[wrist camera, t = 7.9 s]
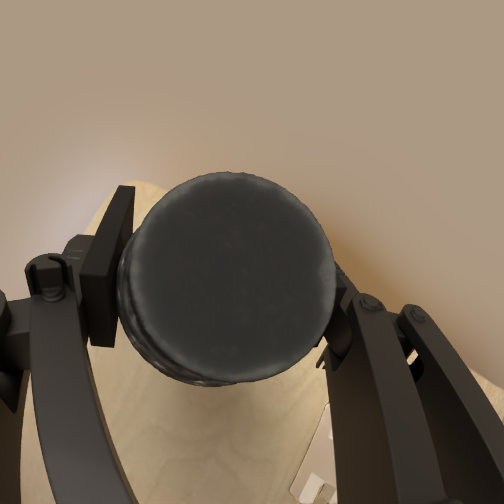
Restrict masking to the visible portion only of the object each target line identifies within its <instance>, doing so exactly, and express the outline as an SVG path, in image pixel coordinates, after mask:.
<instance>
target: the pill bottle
mask: <svg viewBox="0 0 504 504" xmlns="http://www.w3.org/2000/svg"><path fill="white" fill-rule="evenodd" d="M336 286H337V282H336V266H335V263H334V257H333V254H332V249H331V246H330V243H329V241H328V239H327V237H326V235H325V233H324V231H323V229H322V227H321V225H320V224H319V223H318V221H317V219H316V218H315V217H314V215H313V214H312V212H311V211H310V210H309V208H308V207H307V206H306V205H305V204H303V203H302V202H301V201H300V200H299V199H298V198H297V197H296V196H294V195H293V194H292V193H290V192H289V191H287V190H286V189H285V188H283V187H281V186H280V185H278V184H276V183H274V182H271V181H269V180H267V179H264V178H262V177H257V176H255V175H253V174H247V173H244V172H243V173H232V172H217V173H210V174H206V175H203V176H198V177H196V178H193V179H191V180H188V181H186V182H184V183H182V184H180V185H178V186H176V187H175V188H173V189H172V190H171V191H169V192H168V193H167V194H165V196H164V197H163V198H162V199H161V200H159V201H158V202H157V203H156V204H155V205H154V206H153V207H152V209H151V210H150V211H149V213H148V214H147V215H146V217H145V218H144V220H143V222H142V224H141V226H140V227H139V228H137V230H136V231H135V232H134V233H133V234H132V236H131V238H130V239H129V240H128V242H127V244H126V247H125V248H124V250H123V253H122V255H121V257H120V259H119V263H118V266H117V270H116V279H115V300H116V308H117V313H118V316H119V319H120V322H121V324H122V326H123V329H124V331H125V333H126V335H127V337H128V338H129V340H130V342H131V344H132V345H133V347H134V348H135V349H136V350H137V351H138V352H139V354H140V355H141V356H142V357H143V358H144V359H145V360H146V361H147V362H148V363H150V364H151V365H152V366H153V367H154V368H156V369H157V370H159V371H160V372H161V373H163V374H164V375H166V376H168V377H171V378H173V379H175V380H178V381H181V382H184V383H187V384H190V385H195V386H203V387H221V386H227V385H233V384H237V383H243V382H255V381H259V380H263V379H267V378H270V377H272V376H275V375H277V374H279V373H282V372H284V371H286V370H288V369H289V368H290V367H292V366H293V365H295V364H296V363H297V362H299V361H300V360H301V359H302V358H303V357H305V356H306V355H307V354H308V353H309V352H310V351H311V349H312V348H313V347H314V346H315V345H316V344H317V342H318V341H319V339H320V338H321V336H322V334H323V333H324V331H325V329H326V326H327V325H328V323H329V320H330V318H331V315H332V311H333V308H334V301H335V295H336Z"/></svg>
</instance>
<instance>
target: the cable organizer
mask: <svg viewBox="0 0 504 504" xmlns="http://www.w3.org/2000/svg"><path fill="white" fill-rule="evenodd" d="M324 483H325V485H324V487H323V489H322V491H321V492H320V494H319V496H320V497H321V498H323V499H324V500H325V501H327V502H328V503H337V488H336V472H335V458H334V445H333V434H332V423H331V413H330V404H329V403H328V404H327V405H326V407H325V409H324V412H323V414H322V417H321V419H320V422H319V425H318V427H317V429H316V432H315V434H314V437H313V439H312V441H311V444H310V446H309V448H308V451H307V453H306V455H305V458H304V460H303V462H302V464H301V466H300V468H299V471H298V473H297V475H296V477H295V479H294V481H293V483H292V485H291V487H290V489H289V492H290V493H291V494H292V495H293V496H294V497H295V498H296V499H297V500H298V501H299V502H300V503H312V502H313V500H314V498H315V497H316V495H317V493H318V491H319V489H320V487H321V486H322V485H323V484H324Z"/></svg>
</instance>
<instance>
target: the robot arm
mask: <svg viewBox="0 0 504 504" xmlns="http://www.w3.org/2000/svg"><path fill="white" fill-rule="evenodd" d="M134 199H135V186H122V185H119V186H118V188H117V190H116V192H115V194H114V196H113V198H112V200H111V202H110V204H109V206H108V208H107V210H106V212H105V214H104V216H103V219H102V221H101V223H100V225H99V227H98V229H97V232H96V234H95V236H92V235H76V236H75V237H73V238H72V239H71V240H70V241H68V243H67V245H66V247H65V249H64V251H63V253H62V254H57V253H56V254H55V253H48V254H43V255H40V256H38V257H36V258H34V259H32V260H31V261H30V262H29V263H28V264H27V266H26V268H25V275H26V279H27V283H28V287H29V291H30V295H31V297H30V298H26V299H21V300H13V301H7V300H6V297H5V294H4V293H3V292H2V291H1V290H0V504H21V488H20V458H21V439H22V426H23V417H24V408H25V401H26V394H27V388H28V382H29V376H30V371H31V384H32V395H33V403H34V411H35V418H36V425H37V430H38V436H39V441H40V446H41V451H42V455H43V460H44V464H45V468H46V472H47V475H48V479H49V483H50V486H51V489H52V493H53V496H54V499H55V502H56V504H139V503H138V501H137V499H136V497H135V495H134V493H133V490H132V488H131V486H130V484H129V481H128V479H127V477H126V474H125V472H124V470H123V467H122V465H121V462H120V460H119V457H118V454H117V452H116V449H115V446H114V444H113V441H112V438H111V435H110V432H109V429H108V426H107V423H106V420H105V417H104V413H103V410H102V406H101V403H100V399H99V396H98V392H97V388H96V384H95V380H94V376H93V372H92V368H91V363H90V359H89V354H88V350H87V342H88V337H89V338H90V342H91V346H100V347H111V348H114V345H115V337H116V329H117V322H118V313H117V308H116V300H115V279H116V270H117V266H118V263H119V259H120V257H121V255H122V253H123V250H124V248H125V247H126V244H127V242H128V240H129V239H130V238H131V236H132V234H133V215H134ZM334 263H335V266H336V282H337V286H336V295H335V301H334V308H333V311H332V315H331V318H330V320H329V323H328V325H327V326H326V329H325V331H324V333H323V334H322V336H321V338H320V339H319V341H318V342H317V344H316V345H315V346H314V347H318V345H319V343H320V341H321V339H322V337H323V336H324V337H325V339H326V341H327V343H328V344H327V346H326V348H325V349H324V351H323V353H322V354H321V356H320V358H319V360H318V361H317V363H316V368H319V367H320V365H321V363H322V362H323V361H324V362H325V365H324V366H323V368H322V369H325V370H326V378H327V386H328V395H329V404H330V413H331V423H332V434H333V445H334V458H335V472H336V488H337V504H504V425H503V423H502V421H501V420H500V418H499V416H498V415H497V413H496V411H495V410H494V408H493V406H492V405H491V403H490V401H489V400H488V398H487V397H486V395H485V393H484V392H483V390H482V389H481V387H480V386H479V384H478V383H477V381H476V380H475V378H474V377H473V375H472V374H471V372H470V371H469V369H468V368H467V366H466V365H465V363H464V362H463V361H462V359H461V358H460V356H459V355H458V353H457V352H456V351H455V349H454V348H453V347H452V345H451V344H450V342H449V341H448V340H447V338H446V337H445V336H444V334H443V333H442V332H441V330H440V329H439V328H438V326H437V325H436V324H435V322H434V321H433V320H432V318H431V317H430V316H429V315H428V314H427V313H426V312H425V311H424V310H423V309H422V308H421V307H419V306H417V305H412V304H407V305H405V306H404V307H403V309H402V310H401V312H400V314H397V313H392V312H388V311H387V310H386V308H385V306H384V305H383V304H382V302H380V301H379V300H378V299H377V298H375V297H373V296H371V295H368V294H364V293H359V291H358V290H357V289H356V287H355V286H354V285H353V283H352V282H351V281H350V280H349V278H348V277H347V276H345V273H344V272H343V271H342V270H341V269H340V267H339V265H338V264H337V263H336V262H335V261H334ZM314 347H313V348H314ZM414 349H415V350H416V352H417V354H418V356H417V358H416V359H415V360H414V361H413V363H412V364H411V365H409V364H408V363H407V359H408V357H409V356H410V355H411V353H412V352H413V351H414Z"/></svg>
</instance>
